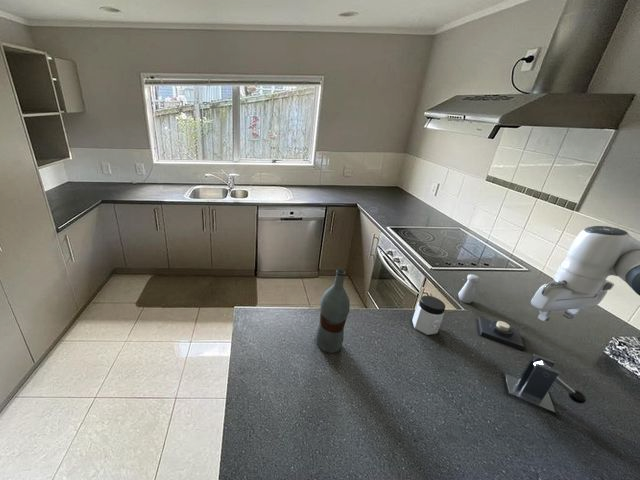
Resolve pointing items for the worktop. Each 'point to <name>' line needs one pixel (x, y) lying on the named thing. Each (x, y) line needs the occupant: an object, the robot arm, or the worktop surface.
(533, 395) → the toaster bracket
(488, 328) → the button housing
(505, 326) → the button
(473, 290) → the salt shaker
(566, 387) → the toaster lever
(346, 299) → the bottle
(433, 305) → the jar
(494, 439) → the worktop surface
